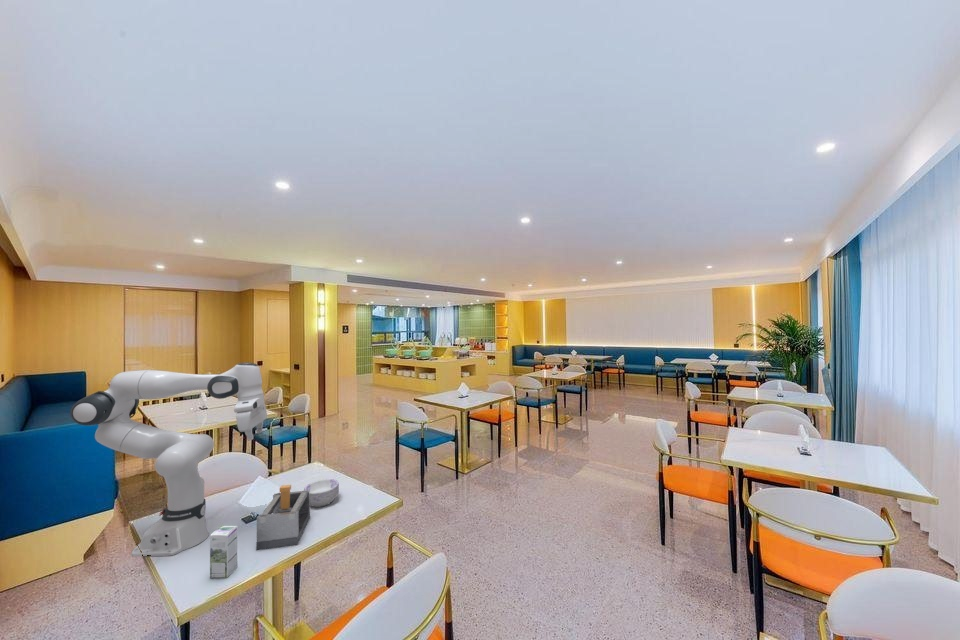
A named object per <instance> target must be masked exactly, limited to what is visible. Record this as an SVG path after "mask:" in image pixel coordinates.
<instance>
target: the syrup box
mask: <svg viewBox="0 0 960 640" xmlns="http://www.w3.org/2000/svg"><path fill="white" fill-rule="evenodd" d="M237 568H238V525H222V526H219V527H217V528H216V530H214V531H213V532H212V533H211V534H209V579H227V578H229V576H230V575H232V573H233V572H234V571H236V569H237Z"/></svg>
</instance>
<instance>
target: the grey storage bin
mask: <svg viewBox="0 0 960 640" xmlns="http://www.w3.org/2000/svg"><path fill="white" fill-rule="evenodd" d="M289 508H292V510H291V512H285V513H279V509H281V492H277V493H274V494H273V495H272V500H271V501H270V502H269V504H268V505H267V506H266V508H265V509H264V510H263V512H262V513H261V514H259V515H257V517H256V543H255V545H256V547H255V551H265V550H271V549H278V548H279V549H280V548H286V547H287V548H288V547H294V546H298V545H299V542H300V541H301V538H302V536H303V534H304V531H305V530H306V528H307V525H308V523H309V520H310V519H311V505H310V490H305V491H304V490H301V491H290V507H289Z"/></svg>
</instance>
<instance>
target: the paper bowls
mask: <svg viewBox="0 0 960 640" xmlns="http://www.w3.org/2000/svg"><path fill="white" fill-rule="evenodd" d="M305 490H310V507H311V506H312V507H315V508H316V507H317V508H318V506H319V507H324V506H327V505H329V504H330V502H331V503H332V502H333V501H334V498H336V497H337V496H338V495H339V494H340V493H339V492H340V491H339V490H340V483H339V481H338V480H336V479H333V478H326V479H324V478H323V479H319V480H316V481H312V482H310V483H309V484H307V485H305V487H304V489H303V491H305Z"/></svg>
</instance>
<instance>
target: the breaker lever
mask: <svg viewBox="0 0 960 640" xmlns="http://www.w3.org/2000/svg"><path fill="white" fill-rule="evenodd" d="M291 490H292V484H284V485H280V486H279V493H281V509H279V513H285V512H291V510H292V508H289V507H290V492H291Z"/></svg>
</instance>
